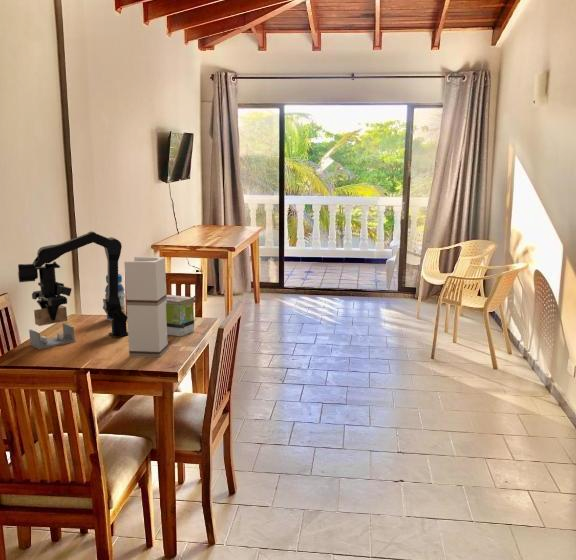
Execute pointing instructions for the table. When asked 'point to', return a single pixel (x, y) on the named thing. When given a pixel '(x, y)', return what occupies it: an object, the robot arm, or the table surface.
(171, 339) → the table surface
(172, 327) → the green and white box
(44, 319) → the brown rectangular block
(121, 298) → the beverage bottle
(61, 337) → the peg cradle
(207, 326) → the table surface
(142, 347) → the white banded pillar
